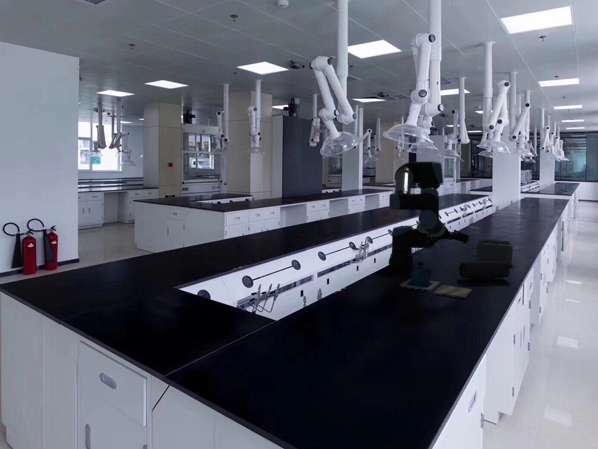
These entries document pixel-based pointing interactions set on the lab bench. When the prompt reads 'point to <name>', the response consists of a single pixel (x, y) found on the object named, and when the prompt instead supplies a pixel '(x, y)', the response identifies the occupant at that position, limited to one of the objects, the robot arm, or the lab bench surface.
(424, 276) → the perfume bottle
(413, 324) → the lab bench surface
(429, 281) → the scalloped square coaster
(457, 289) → the beige square cloth
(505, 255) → the geiger counter
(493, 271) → the bluetooth speaker
